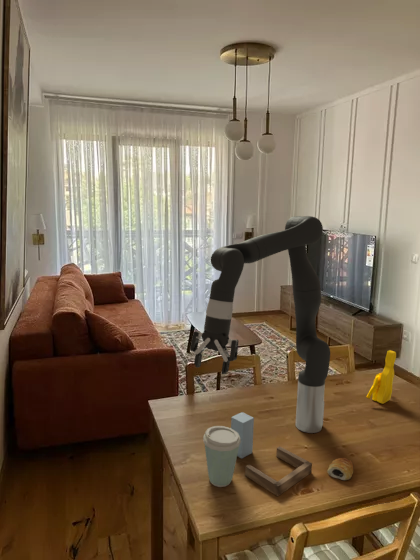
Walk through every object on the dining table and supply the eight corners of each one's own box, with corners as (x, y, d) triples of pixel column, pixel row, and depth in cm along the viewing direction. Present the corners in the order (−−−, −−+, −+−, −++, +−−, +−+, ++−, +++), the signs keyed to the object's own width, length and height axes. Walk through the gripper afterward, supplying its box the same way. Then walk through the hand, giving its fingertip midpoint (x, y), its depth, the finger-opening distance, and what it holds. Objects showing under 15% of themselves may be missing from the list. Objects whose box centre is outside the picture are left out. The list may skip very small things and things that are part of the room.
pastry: (335, 460, 133) (336, 449, 132) (357, 468, 129) (359, 457, 129) (325, 475, 125) (326, 463, 125) (348, 484, 122) (349, 472, 121)
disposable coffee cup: (228, 465, 129) (229, 420, 126) (246, 487, 119) (248, 438, 117) (196, 474, 124) (197, 427, 122) (212, 497, 115) (213, 446, 112)
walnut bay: (279, 454, 135) (279, 446, 135) (311, 472, 126) (312, 463, 126) (245, 475, 124) (245, 466, 124) (277, 496, 116) (278, 486, 115)
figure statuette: (382, 391, 183) (387, 343, 179) (400, 398, 177) (406, 347, 174) (361, 403, 172) (365, 351, 168) (379, 410, 166) (384, 357, 162)
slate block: (240, 445, 140) (242, 412, 138) (252, 452, 136) (253, 417, 134) (230, 451, 136) (231, 416, 134) (241, 458, 133) (243, 423, 131)
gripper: (245, 319, 124) (237, 374, 125) (203, 311, 131) (195, 363, 131) (236, 321, 118) (227, 378, 118) (191, 311, 124) (183, 366, 124)
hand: (210, 370), depth 125 cm, fingers open, 8 cm apart
